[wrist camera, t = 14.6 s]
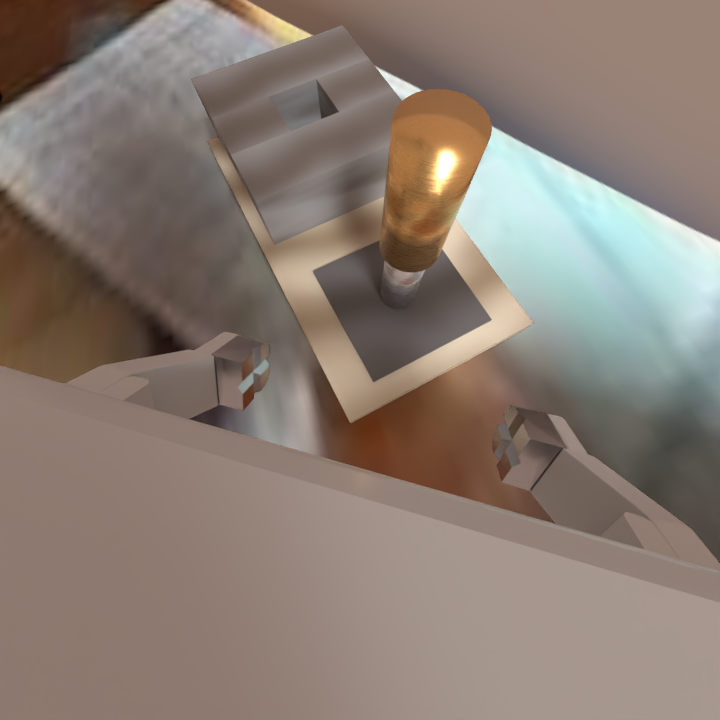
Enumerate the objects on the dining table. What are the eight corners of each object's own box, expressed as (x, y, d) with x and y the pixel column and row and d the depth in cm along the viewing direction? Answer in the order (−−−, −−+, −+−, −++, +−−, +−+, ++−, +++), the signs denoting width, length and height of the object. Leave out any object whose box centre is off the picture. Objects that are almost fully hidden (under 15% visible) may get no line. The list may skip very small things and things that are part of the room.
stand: (215, 157, 26) (177, 84, 20) (355, 102, 27) (354, 21, 22) (350, 423, 19) (346, 417, 14) (521, 331, 21) (575, 294, 16)
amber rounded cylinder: (366, 284, 20) (374, 108, 10) (405, 265, 21) (456, 77, 10) (388, 322, 19) (425, 176, 9) (429, 302, 20) (511, 140, 9)
